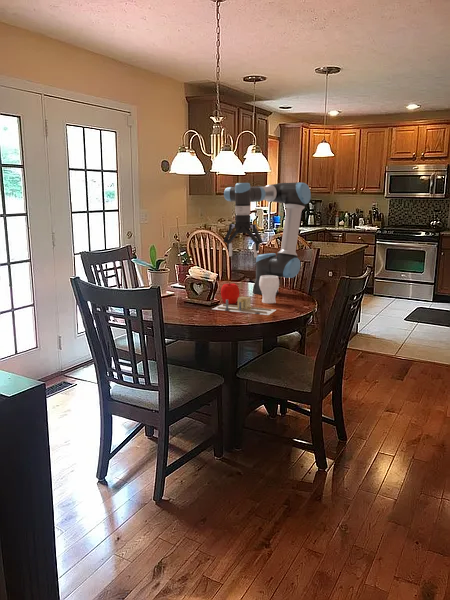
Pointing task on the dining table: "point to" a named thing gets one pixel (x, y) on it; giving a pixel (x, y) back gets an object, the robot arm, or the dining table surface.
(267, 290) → the cup
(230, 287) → the apple
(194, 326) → the dining table surface
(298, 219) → the robot arm
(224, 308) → the board
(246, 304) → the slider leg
